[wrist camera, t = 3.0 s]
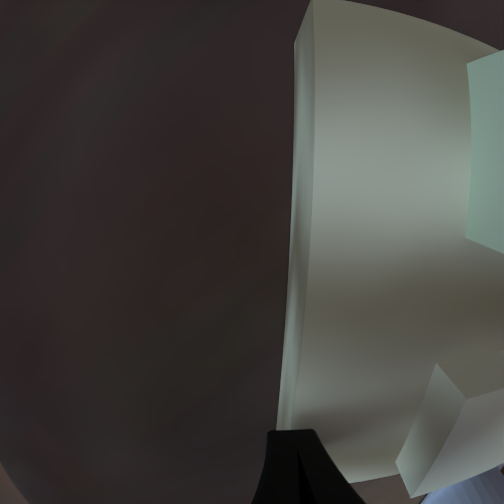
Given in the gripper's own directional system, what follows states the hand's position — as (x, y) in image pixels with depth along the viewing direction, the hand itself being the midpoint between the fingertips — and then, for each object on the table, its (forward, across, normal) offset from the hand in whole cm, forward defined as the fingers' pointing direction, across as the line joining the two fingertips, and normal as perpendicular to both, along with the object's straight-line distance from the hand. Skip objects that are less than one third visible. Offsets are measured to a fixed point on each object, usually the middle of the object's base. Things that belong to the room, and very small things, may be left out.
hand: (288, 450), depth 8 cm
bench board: (+4, -7, -4) cm, 9 cm away
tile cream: (+1, -7, 0) cm, 7 cm away
